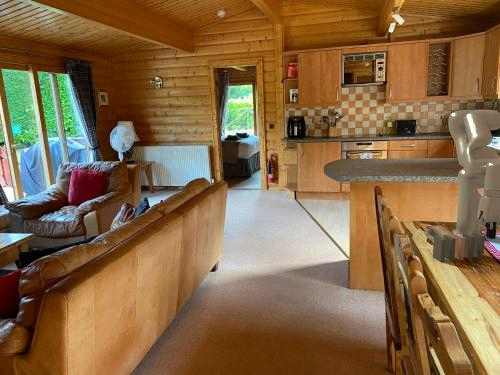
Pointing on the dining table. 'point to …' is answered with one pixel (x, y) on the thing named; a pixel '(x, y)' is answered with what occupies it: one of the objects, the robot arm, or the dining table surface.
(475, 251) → the domino
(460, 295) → the dining table surface
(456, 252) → the domino
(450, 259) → the domino
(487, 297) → the dining table surface
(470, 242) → the domino
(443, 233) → the packaged product
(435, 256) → the domino
